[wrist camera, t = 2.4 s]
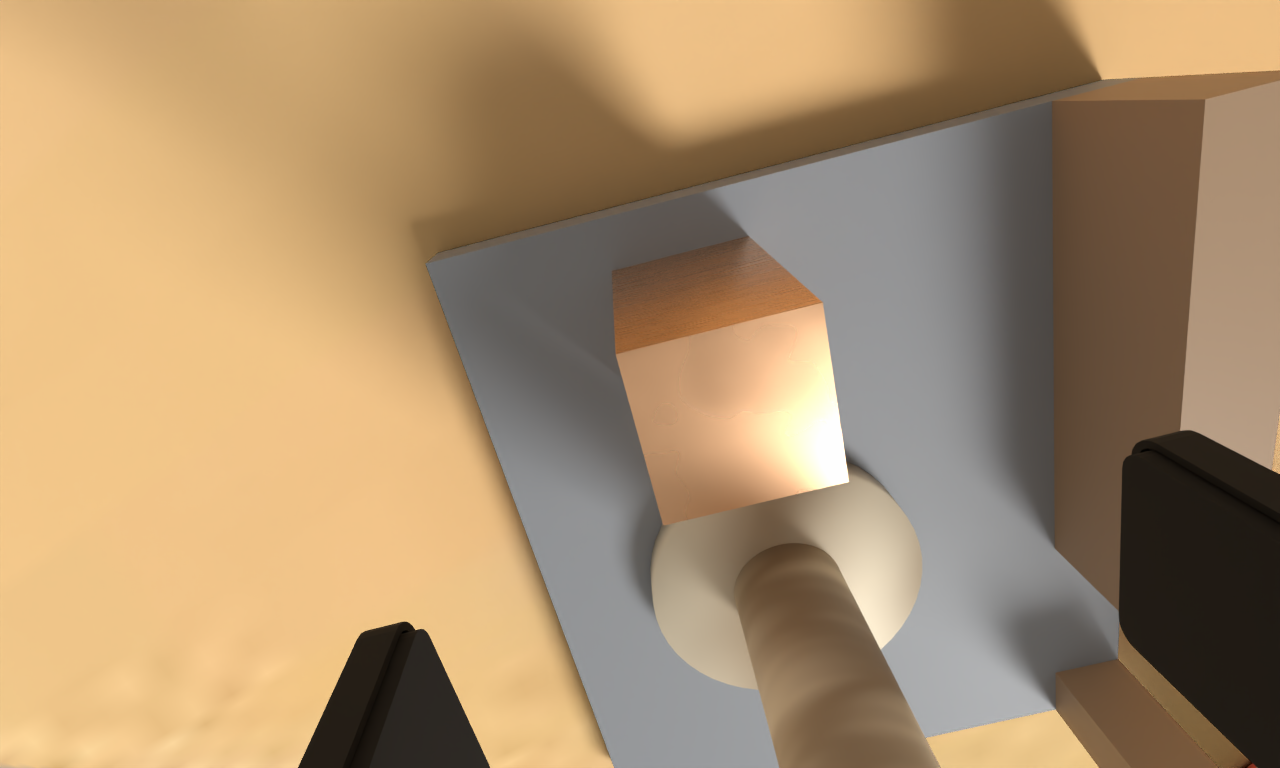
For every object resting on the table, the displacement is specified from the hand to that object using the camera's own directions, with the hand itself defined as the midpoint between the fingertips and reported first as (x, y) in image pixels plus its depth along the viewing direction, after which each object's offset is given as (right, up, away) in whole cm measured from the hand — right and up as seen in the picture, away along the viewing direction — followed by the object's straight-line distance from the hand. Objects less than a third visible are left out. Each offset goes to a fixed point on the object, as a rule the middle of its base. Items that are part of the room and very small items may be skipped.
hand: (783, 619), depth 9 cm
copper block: (0, +5, +11) cm, 12 cm away
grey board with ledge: (+4, -1, +15) cm, 16 cm away
